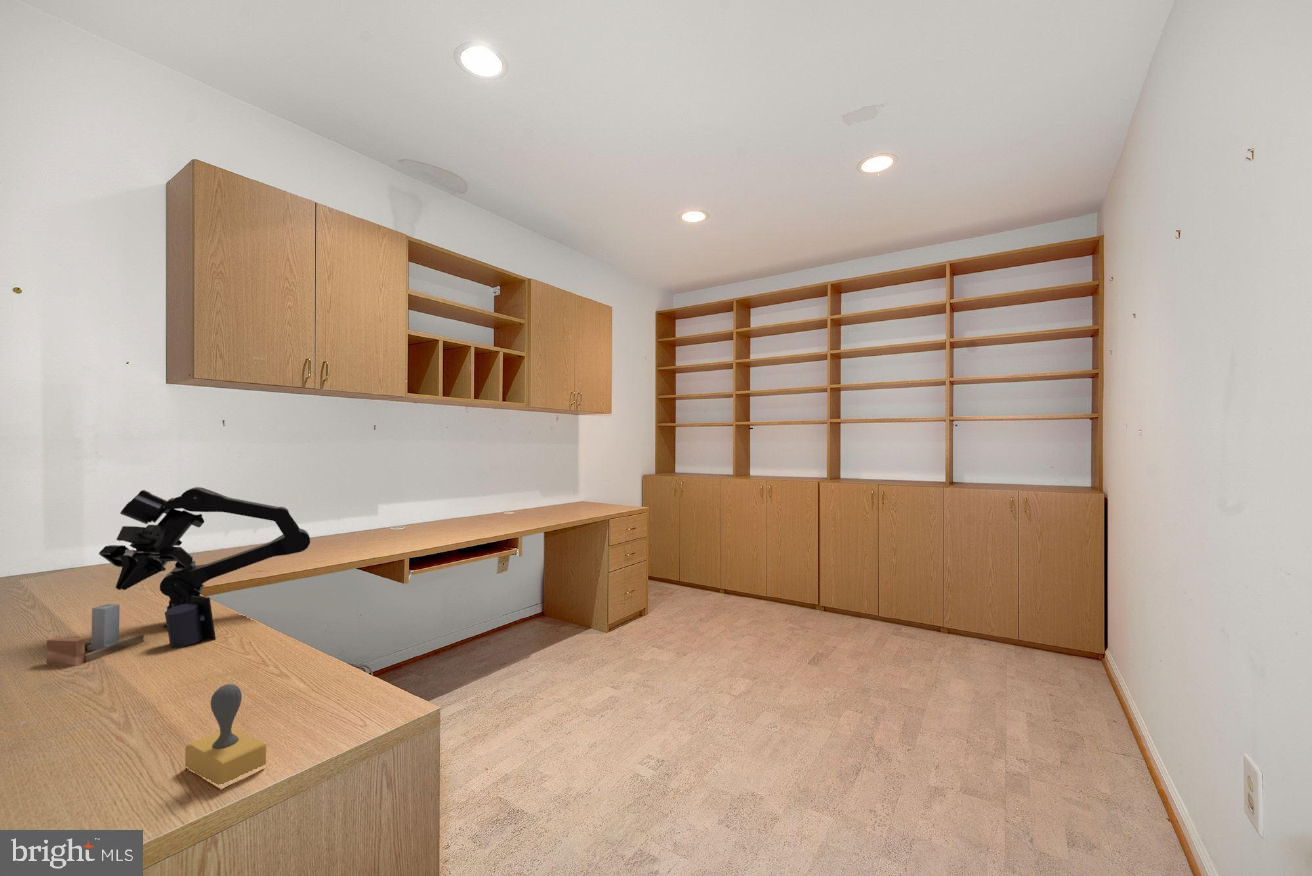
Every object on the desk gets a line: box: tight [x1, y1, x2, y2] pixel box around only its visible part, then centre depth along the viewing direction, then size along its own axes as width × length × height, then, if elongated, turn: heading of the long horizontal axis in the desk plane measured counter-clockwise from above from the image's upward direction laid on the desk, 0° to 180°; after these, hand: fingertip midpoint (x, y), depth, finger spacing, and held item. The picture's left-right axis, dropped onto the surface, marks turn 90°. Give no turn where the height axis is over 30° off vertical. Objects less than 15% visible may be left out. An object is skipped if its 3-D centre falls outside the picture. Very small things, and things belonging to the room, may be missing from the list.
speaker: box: [164, 596, 217, 649], centre depth 122 cm, size 8×6×10 cm
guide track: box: [46, 634, 145, 667], centre depth 116 cm, size 13×7×5 cm, turn 177°
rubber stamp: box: [184, 683, 267, 785], centre depth 76 cm, size 10×6×12 cm, turn 63°
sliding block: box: [87, 603, 123, 652], centre depth 117 cm, size 3×5×9 cm, turn 87°
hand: (120, 588), depth 120 cm, fingers closed
